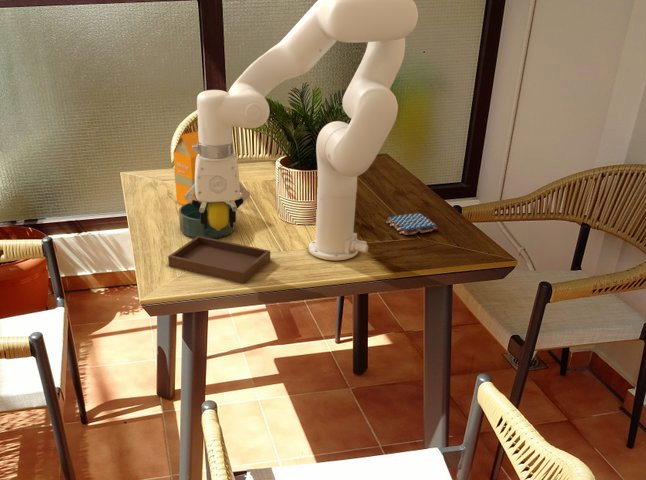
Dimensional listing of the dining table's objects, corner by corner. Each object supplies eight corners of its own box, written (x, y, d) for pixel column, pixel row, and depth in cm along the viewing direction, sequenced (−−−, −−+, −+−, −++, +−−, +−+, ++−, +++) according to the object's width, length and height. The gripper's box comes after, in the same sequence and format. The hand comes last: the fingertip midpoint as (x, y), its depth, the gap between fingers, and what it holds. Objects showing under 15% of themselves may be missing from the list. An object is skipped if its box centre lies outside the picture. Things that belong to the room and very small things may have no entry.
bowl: (244, 224, 199) (244, 205, 196) (217, 244, 188) (216, 224, 185) (198, 215, 205) (197, 196, 202) (169, 233, 194) (168, 214, 191)
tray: (270, 260, 180) (270, 250, 179) (243, 283, 170) (243, 273, 168) (198, 244, 188) (198, 235, 186) (168, 266, 177) (167, 256, 176)
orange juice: (216, 200, 214) (213, 131, 203) (193, 208, 209) (189, 138, 198) (198, 194, 219) (195, 126, 207) (176, 201, 213) (171, 132, 202)
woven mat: (418, 217, 205) (419, 210, 203) (437, 231, 196) (438, 224, 195) (385, 222, 202) (385, 215, 200) (403, 236, 193) (404, 229, 192)
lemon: (226, 236, 171) (225, 203, 167) (204, 233, 172) (202, 201, 168) (232, 227, 176) (231, 195, 172) (210, 225, 177) (209, 193, 172)
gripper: (178, 156, 159) (182, 234, 169) (256, 153, 162) (256, 230, 172) (176, 146, 165) (181, 221, 175) (251, 143, 168) (252, 218, 178)
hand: (218, 225), depth 173 cm, fingers closed on lemon, 5 cm apart
